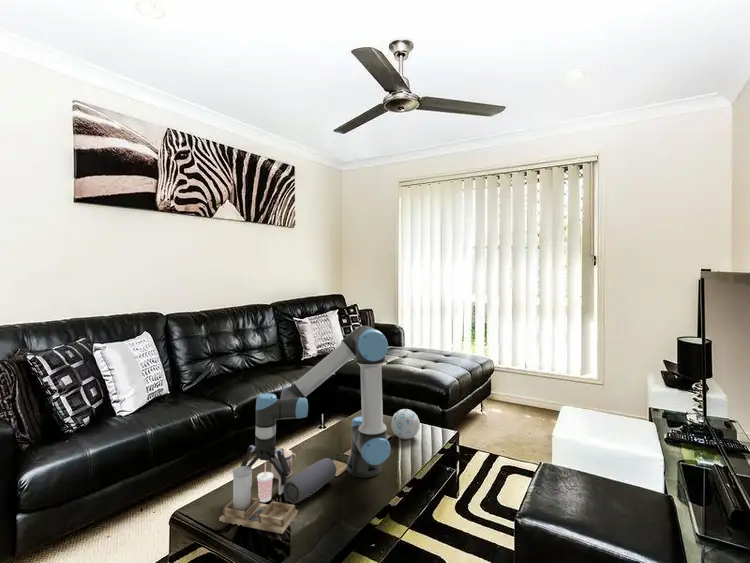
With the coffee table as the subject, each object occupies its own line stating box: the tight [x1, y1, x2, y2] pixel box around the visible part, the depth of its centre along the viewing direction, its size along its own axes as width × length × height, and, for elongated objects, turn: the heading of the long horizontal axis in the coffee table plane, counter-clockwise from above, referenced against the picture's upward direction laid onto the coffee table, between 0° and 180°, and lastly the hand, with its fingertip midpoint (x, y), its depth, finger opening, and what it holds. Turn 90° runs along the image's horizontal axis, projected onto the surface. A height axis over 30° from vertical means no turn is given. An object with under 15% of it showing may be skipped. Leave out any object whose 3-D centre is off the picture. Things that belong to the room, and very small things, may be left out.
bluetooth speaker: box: [282, 457, 337, 505], centre depth 162 cm, size 23×9×10 cm, turn 149°
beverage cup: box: [256, 461, 274, 503], centre depth 157 cm, size 6×6×14 cm
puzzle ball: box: [390, 408, 421, 440], centre depth 217 cm, size 15×15×15 cm
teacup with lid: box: [270, 446, 297, 480], centre depth 177 cm, size 12×9×12 cm
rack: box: [218, 497, 299, 535], centre depth 145 cm, size 24×12×4 cm, turn 76°
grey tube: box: [232, 465, 253, 511], centre depth 147 cm, size 7×7×15 cm
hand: (264, 490), depth 157 cm, fingers open, 13 cm apart
